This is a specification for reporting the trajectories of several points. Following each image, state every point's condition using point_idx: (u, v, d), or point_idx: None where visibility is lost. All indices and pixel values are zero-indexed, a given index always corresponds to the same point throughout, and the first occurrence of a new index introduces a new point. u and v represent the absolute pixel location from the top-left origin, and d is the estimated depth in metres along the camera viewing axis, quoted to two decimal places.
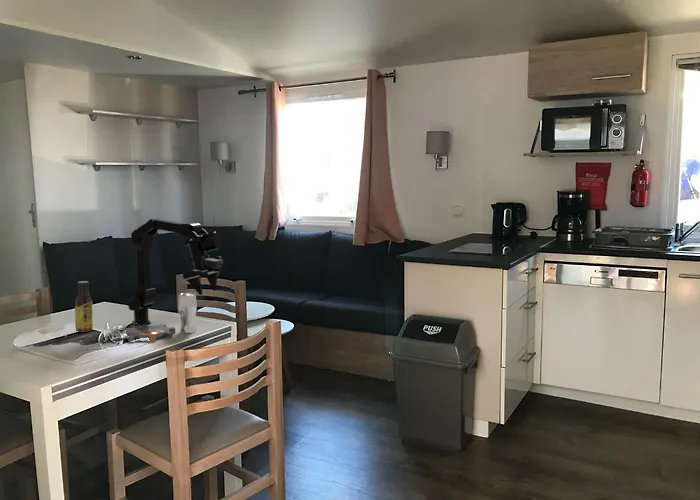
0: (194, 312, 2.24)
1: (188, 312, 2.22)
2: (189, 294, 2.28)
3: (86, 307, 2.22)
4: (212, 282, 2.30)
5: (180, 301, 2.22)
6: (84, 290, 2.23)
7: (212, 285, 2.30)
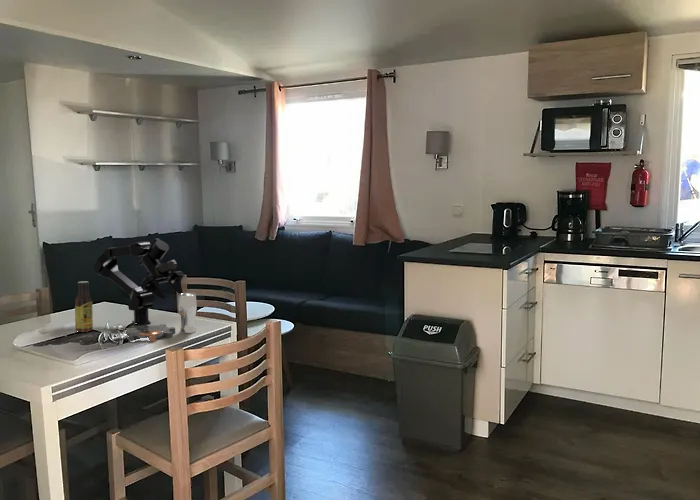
0: (194, 312, 2.24)
1: (188, 312, 2.22)
2: (189, 294, 2.28)
3: (86, 307, 2.22)
4: (177, 288, 2.33)
5: (180, 301, 2.22)
6: (84, 290, 2.23)
7: (178, 291, 2.33)
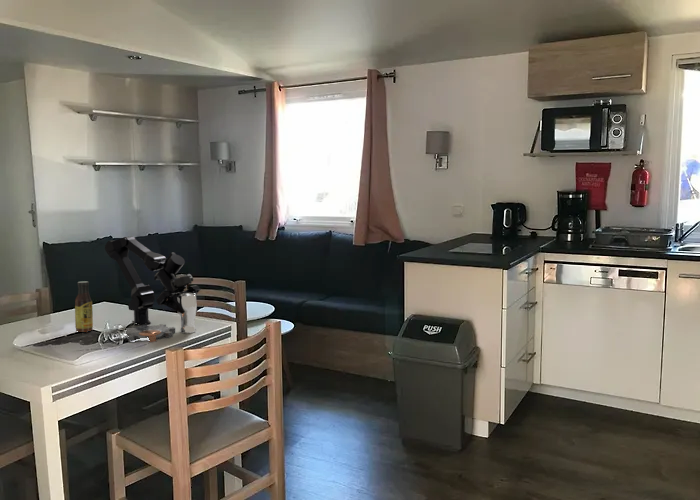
0: (194, 312, 2.24)
1: (188, 312, 2.22)
2: (189, 294, 2.28)
3: (86, 307, 2.22)
4: None
5: (181, 301, 2.22)
6: (84, 290, 2.23)
7: None
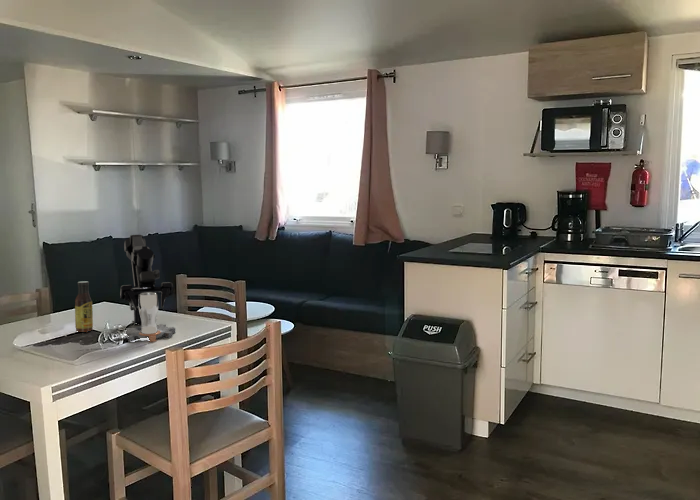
0: (151, 313, 2.12)
1: (144, 312, 2.12)
2: (155, 293, 2.17)
3: (86, 307, 2.22)
4: (161, 300, 2.17)
5: (139, 300, 2.13)
6: (84, 290, 2.23)
7: (161, 303, 2.17)
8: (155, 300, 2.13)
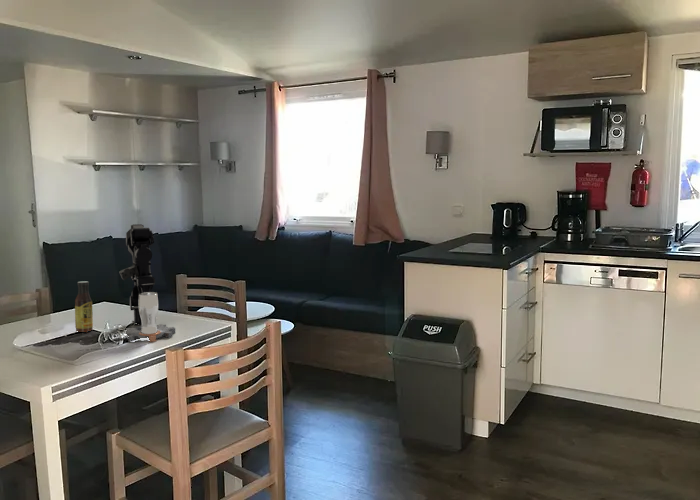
0: (151, 313, 2.12)
1: (144, 312, 2.12)
2: (155, 293, 2.16)
3: (86, 307, 2.22)
4: None
5: (139, 300, 2.13)
6: (84, 290, 2.23)
7: None
8: (155, 300, 2.13)
